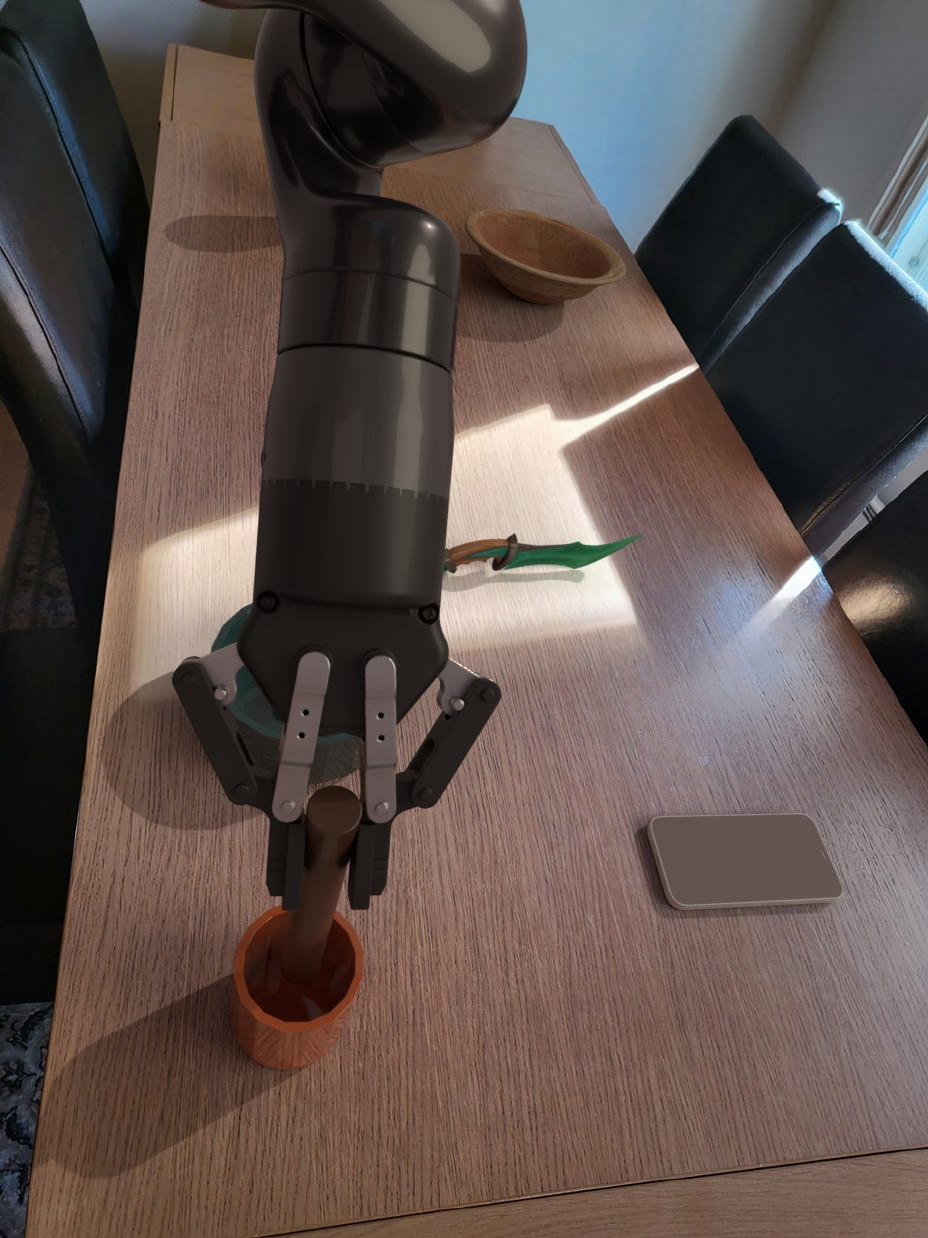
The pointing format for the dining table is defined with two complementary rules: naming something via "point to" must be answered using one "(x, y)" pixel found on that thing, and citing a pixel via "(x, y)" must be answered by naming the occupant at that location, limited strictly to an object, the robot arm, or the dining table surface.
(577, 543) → the knife
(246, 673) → the mixing bowl
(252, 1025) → the utensil cup
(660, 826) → the smartphone
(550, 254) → the bowl
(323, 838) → the stirring stick
